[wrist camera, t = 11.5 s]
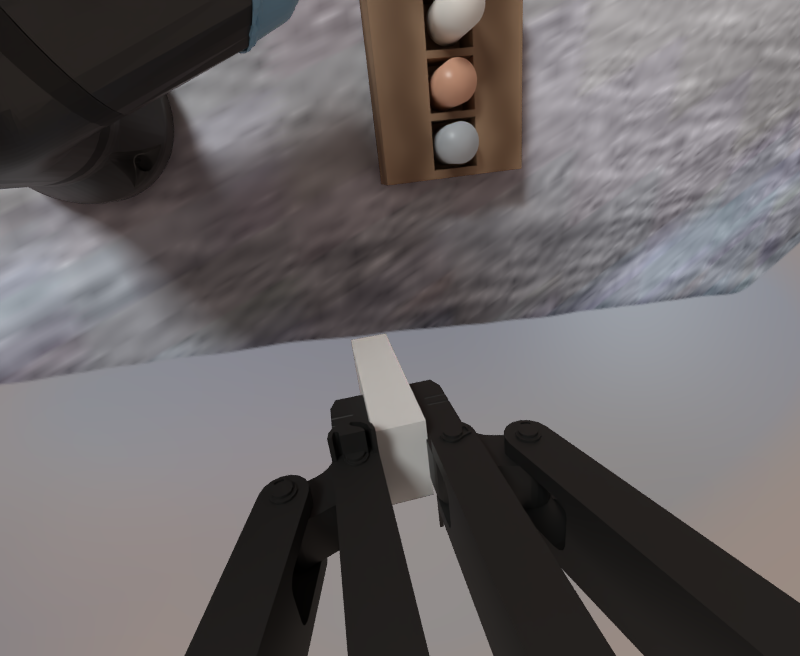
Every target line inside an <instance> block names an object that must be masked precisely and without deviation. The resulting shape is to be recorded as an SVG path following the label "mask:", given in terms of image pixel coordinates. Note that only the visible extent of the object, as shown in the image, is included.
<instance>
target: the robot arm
mask: <svg viewBox="0 0 800 656" xmlns="http://www.w3.org/2000/svg"><path fill="white" fill-rule="evenodd" d="M298 1H299V0H0V189H7V188H21V187H29V188H32V189H33V190H35V191H38V192H40V193H42V194H45V195H47V196H50V197H53V198H56V199H60V200H64V201H69V202H74V203H83V204H99V203H108V202H114V201H119V200H124V199H127V198H130V197H132V196H135V195H137V194H139V193H141V192H142V191H144V190H145V189H147V188H148V187H149V186H151V185H152V184H153V183H154V182H155V181H156V180H157V179H158V177H159V176H160V175H161V173H162V172H163V170H164V169H165V167H166V165H167V163H168V160H169V158H170V154H171V151H172V146H173V138H174V125H173V117H172V112H171V108H170V104H169V101H168V98H167V95H166V94H167V93H168V92H170V91H172V90H174V89H175V88H177V87H179V86H181V85H182V84H184V83H186V82H188V81H189V80H191V79H193V78H195V77H196V76H198V75H200V74H202V73H203V72H205V71H207V70H209V69H210V68H212V67H214V66H216V65H217V64H219V63H221V62H223V61H224V60H226V59H228V58H230V57H232V56H233V55H235V54H237V53H246V52H249V51H250V50H251V48H252V47H254V46H255V44H256V42H257V41H258V40H259V39H261V38H262V37H264V36H265V35H267V34H268V33H270V32H272V31H273V30H275V29H276V28H278V27H279V26H281V25H282V24H284V23H285V22H286V21H287V20H288V19H289V18H290V17H291V15H292V14H293V11H294V10H295V7H296V5H297V3H298ZM351 343H352V348H353V354H354V360H355V365H356V371H357V377H358V382H359V388H360V393H361V395H359V396H354V397H350V398H345V399H340V400H336V401H335V402H334V404H333V406H332V408H331V409H330V410H331V422H332V430H331V431H330V432H329V433H328V438H327V440H328V445H329V449H330V454H331V458H332V464H331V465H330V466H329V468H328V469H327V470H326V471H324V472H323V473H322V474H320V475H319V476H317V477H315V478H313V479H311V480H309V481H306V479H305V478H303V477H301V476H298V475H288V476H283V477H280V478H278V479H275V480H273V481H272V482H270V483H269V484H268V485H266V486H265V487H264V488H263V490H262V491H261V492H260V494H259V496H258V498H257V500H256V502H255V504H254V506H253V508H252V511H251V513H250V515H249V517H248V519H247V521H246V524H245V526H244V528H243V531H242V532H241V534H240V537H239V539H238V541H237V543H236V545H235V548H234V550H233V552H232V554H231V556H230V558H229V561H228V563H227V565H226V567H225V569H224V571H223V574H222V576H221V578H220V580H219V582H218V584H217V587H216V589H215V591H214V593H213V595H212V597H211V600H210V602H209V604H208V606H207V608H206V611H205V613H204V615H203V617H202V619H201V621H200V624H199V626H198V628H197V630H196V632H195V634H194V637H193V639H192V641H191V643H190V645H189V647H188V649H187V652H186V654H185V656H307V655H308V651H309V646H310V641H311V636H312V632H313V627H314V623H315V618H316V613H317V608H318V604H319V599H320V595H321V590H322V585H323V581H324V576H325V571H326V567H327V557H329V556H331V555H332V554H334V553H336V552H337V551H339V550H340V562H341V575H342V587H343V600H344V612H345V624H346V638H347V651H348V656H429V652H428V648H427V644H426V640H425V636H424V632H423V628H422V624H421V619H420V615H419V611H418V607H417V604H416V600H415V595H414V591H413V587H412V583H411V579H410V575H409V571H408V568H407V563H406V559H405V555H404V551H403V547H402V543H401V539H400V535H399V531H398V527H397V523H396V519H395V514H394V510H393V506H392V505H394V504H397V503H401V502H405V501H409V500H413V499H417V498H422V497H426V496H430V495H433V486H434V488H435V491H436V493H437V501H438V511H439V521H440V527H443V526H444V525H445V527H446V530H447V532H448V535H449V538H450V541H451V543H452V546H453V549H454V551H455V554H456V557H457V559H458V562H459V565H460V567H461V570H462V573H463V575H464V578H465V581H466V584H467V586H468V589H469V591H470V594H471V597H472V600H473V602H474V605H475V607H476V610H477V613H478V616H479V618H480V621H481V624H482V626H483V629H484V631H485V634H486V637H487V640H488V642H489V645H490V648H491V650H492V653H493V656H616V655H615V653H614V652H613V650H612V649H611V647H610V645H609V644H608V642H607V641H606V639H605V638H604V636H603V634H602V633H601V631H600V629H599V628H598V626H597V625H596V623H595V622H594V620H593V618H592V617H591V615H590V613H589V612H588V610H587V609H586V607H585V606H584V604H583V602H582V601H581V599H580V598H579V596H578V594H577V593H576V591H575V590H574V588H573V586H572V585H571V583H570V582H569V580H568V579H567V577H566V575H565V574H564V572H563V570H564V571H565V572H566V573H567V575H568V576H569V577H570V578H571V579H572V580H573V581H574V582H575V583H576V584H577V585H578V586H579V587H580V588H581V589H582V590H583V591H584V593H585V594H586V595H587V596H588V597H589V598H590V599H591V600H592V601H593V602H594V603H595V604H596V605H597V606H598V607H599V608H600V609H601V611H602V612H603V613H604V614H605V615H606V616H607V617H608V618H609V619H610V620H611V621H612V622H613V623H614V624H615V625H616V626H617V627H618V628H619V630H621V632H622V633H623V634H624V635H625V636H626V637H627V638H628V639H629V640H630V641H631V642H632V643H633V644H634V645H635V647H637V649H638V650H639V651H640V652H641V653H642V654H643V655H644V656H800V603H799V602H797V601H796V600H794V599H793V598H792V597H790V596H789V595H787V594H786V593H785V592H783V591H782V590H780V589H779V588H777V587H776V586H774V585H773V584H772V583H770V582H769V581H767V580H766V579H764V578H763V577H762V576H760V575H759V574H757V573H756V572H754V571H753V570H752V569H750V568H748V567H747V566H745V565H744V564H743V563H741V562H740V561H739V560H737V559H736V558H734V557H733V556H731V555H730V554H729V553H727V552H726V551H724V550H723V549H721V548H720V547H719V546H717V545H716V544H714V543H713V542H711V541H710V540H709V539H707V538H706V537H704V536H703V535H701V534H700V533H698V532H697V531H695V530H694V529H693V528H691V527H690V526H688V525H687V524H686V523H684V522H682V521H681V520H680V519H678V518H677V517H675V516H674V515H673V514H671V513H670V512H668V511H667V510H665V509H664V508H663V507H661V506H660V505H658V504H657V503H655V502H654V501H652V500H651V499H650V498H648V497H647V496H645V495H644V494H642V493H641V492H640V491H638V490H637V489H635V488H634V487H632V486H631V485H630V484H628V483H627V482H625V481H624V480H622V479H621V478H620V477H618V476H617V475H615V474H614V473H612V472H611V471H609V470H608V469H607V468H605V467H604V466H602V465H601V464H599V463H598V462H597V461H595V460H594V459H592V458H591V457H589V456H588V455H587V454H585V453H584V452H582V451H581V450H579V449H578V448H577V447H575V446H574V445H572V444H571V443H569V442H568V441H567V440H565V439H564V438H562V437H561V436H559V435H558V434H556V433H555V432H553V431H552V430H551V429H549V428H548V427H546V426H545V425H542V424H541V423H539V422H535V421H530V420H520V421H516V422H512V423H511V424H509V425H508V426H507V427H506V428H505V430H504V435H482V434H478V433H476V432H475V430H474V429H473V428H472V427H471V426H470V425H468V424H466V423H463V422H461V420H460V419H459V417H458V415H457V413H456V412H455V410H454V408H453V407H452V405H451V404H450V402H449V401H448V398H447V397H446V395H445V394H444V392H443V390H442V388H441V387H440V385H438V384H437V383H435V382H433V381H432V380H426V381H422V382H417V383H412V384H409V383H408V381H407V379H406V377H405V374H404V372H403V370H402V368H401V366H400V364H399V361H398V359H397V357H396V355H395V353H394V351H393V349H392V346H391V344H390V342H389V340H388V338H387V335H386V334H381V335H375V336H370V337H365V338H359V339H354V340H351ZM432 483H433V484H432ZM561 568H562V569H563V570H562V569H561Z"/></svg>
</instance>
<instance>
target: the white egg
mask: <svg viewBox="0 0 800 656" xmlns="http://www.w3.org/2000/svg"><path fill="white" fill-rule="evenodd" d="M484 9H485V0H434V2H433V3H432V4H431V6H430V8H429V9H428V12H427V15H426V28H427V32H428V34H429V36H430V38H431V39H432V40H433V41H434V42H435V43H436V44H438V45H440V46H450V45H453V44H454V43H456V42H457V41H458V40H459V39H460V38H461V37H463V36H464V35H465V34H466V33H467V32H468V31H469V30H471V29H472V28H473V27H474V26H475V25H476V24H477V23H478V22H479V21H480V19H481V18H482V15H483V13H484Z"/></svg>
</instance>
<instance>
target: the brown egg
mask: <svg viewBox="0 0 800 656" xmlns="http://www.w3.org/2000/svg"><path fill="white" fill-rule="evenodd" d="M428 84H429V98H430V107H432V108H433V109H435V110H437V111H446V110H448V109H451V108H453V107H455V106H458V105H460V104H462V103H464V102H466V101H468V100H469V99H470V98H471V97H472V95H473V94H474V92H475V89H476V86H477V75H476V71H475V69H474V67H473V65H472V64H471V63H470V62H469V61H468V60H467V59H465V58H462V57H454V58H451V59H449V60H448V61H447V62H445V63H444V64H443V65H442V66H440V67H439V68H438V69H437V70H435V71H434V72H433V73H432V74H431V75H430V76H429V77H428Z"/></svg>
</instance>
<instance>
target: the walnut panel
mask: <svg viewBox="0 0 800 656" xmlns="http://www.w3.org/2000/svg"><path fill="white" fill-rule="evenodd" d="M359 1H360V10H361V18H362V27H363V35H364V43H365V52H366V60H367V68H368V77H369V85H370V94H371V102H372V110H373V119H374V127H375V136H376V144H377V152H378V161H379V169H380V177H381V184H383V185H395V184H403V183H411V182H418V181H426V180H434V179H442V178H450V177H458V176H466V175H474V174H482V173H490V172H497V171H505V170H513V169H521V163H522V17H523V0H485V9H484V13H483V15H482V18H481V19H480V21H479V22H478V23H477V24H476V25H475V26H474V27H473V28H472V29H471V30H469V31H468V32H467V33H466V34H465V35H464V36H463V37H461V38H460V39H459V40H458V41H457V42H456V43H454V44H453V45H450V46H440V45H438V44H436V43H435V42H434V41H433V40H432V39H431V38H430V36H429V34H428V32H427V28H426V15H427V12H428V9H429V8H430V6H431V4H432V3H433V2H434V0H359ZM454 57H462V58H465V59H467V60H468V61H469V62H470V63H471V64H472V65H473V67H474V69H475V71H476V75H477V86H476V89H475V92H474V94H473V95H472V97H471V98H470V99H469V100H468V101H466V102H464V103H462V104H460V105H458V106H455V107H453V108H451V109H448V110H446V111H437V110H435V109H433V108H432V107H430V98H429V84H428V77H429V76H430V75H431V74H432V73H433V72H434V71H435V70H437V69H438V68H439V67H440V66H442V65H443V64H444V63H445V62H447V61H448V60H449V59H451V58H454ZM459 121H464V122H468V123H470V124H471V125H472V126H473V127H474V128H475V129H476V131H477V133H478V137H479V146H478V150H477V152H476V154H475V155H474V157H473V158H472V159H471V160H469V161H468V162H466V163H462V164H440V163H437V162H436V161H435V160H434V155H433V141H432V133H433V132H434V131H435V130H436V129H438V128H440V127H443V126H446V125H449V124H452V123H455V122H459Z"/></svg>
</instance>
